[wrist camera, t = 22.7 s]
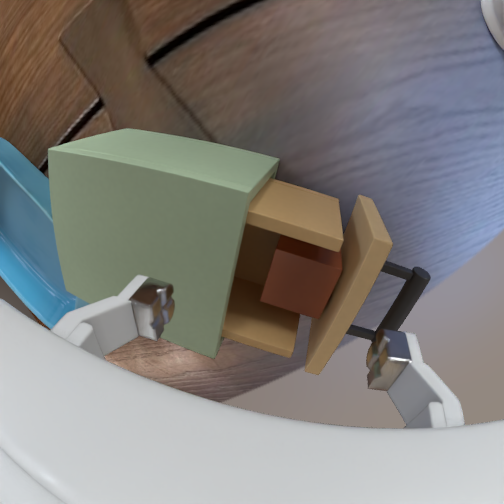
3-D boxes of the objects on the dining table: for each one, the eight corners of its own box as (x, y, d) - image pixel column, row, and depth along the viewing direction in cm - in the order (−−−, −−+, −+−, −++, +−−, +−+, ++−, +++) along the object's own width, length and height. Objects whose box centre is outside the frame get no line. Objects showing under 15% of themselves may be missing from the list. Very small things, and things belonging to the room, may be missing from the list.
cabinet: (280, 158, 21) (248, 192, 13) (247, 285, 28) (214, 359, 20) (127, 128, 23) (47, 148, 15) (123, 242, 30) (66, 290, 21)
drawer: (424, 219, 20) (461, 270, 13) (369, 323, 26) (374, 387, 19) (206, 150, 21) (153, 173, 15) (191, 267, 27) (151, 318, 21)
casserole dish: (142, 232, 28) (99, 266, 22) (106, 332, 40) (81, 361, 34) (-5, 107, 25) (-38, 116, 19) (-12, 210, 36) (-37, 225, 30)
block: (271, 268, 24) (259, 301, 20) (285, 221, 22) (275, 248, 18) (321, 284, 23) (318, 319, 20) (340, 239, 21) (342, 269, 17)
